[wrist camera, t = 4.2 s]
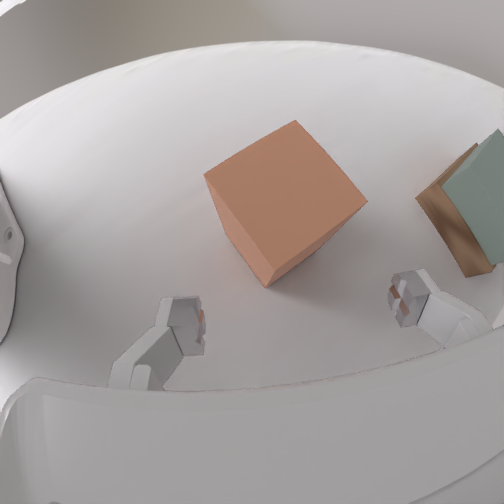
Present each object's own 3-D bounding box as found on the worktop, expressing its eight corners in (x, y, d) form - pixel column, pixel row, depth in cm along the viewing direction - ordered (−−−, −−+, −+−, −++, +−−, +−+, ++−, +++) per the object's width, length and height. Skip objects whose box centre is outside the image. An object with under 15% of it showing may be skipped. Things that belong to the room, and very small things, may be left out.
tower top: (441, 186, 18) (469, 165, 14) (475, 148, 19) (498, 128, 15) (490, 265, 17) (523, 256, 13) (518, 214, 18) (544, 202, 14)
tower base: (414, 199, 22) (436, 181, 18) (456, 159, 23) (476, 142, 19) (464, 277, 21) (491, 272, 17) (499, 227, 22) (522, 217, 18)
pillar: (225, 233, 21) (203, 174, 12) (279, 197, 22) (295, 119, 12) (265, 288, 21) (275, 271, 11) (318, 248, 21) (367, 201, 11)
